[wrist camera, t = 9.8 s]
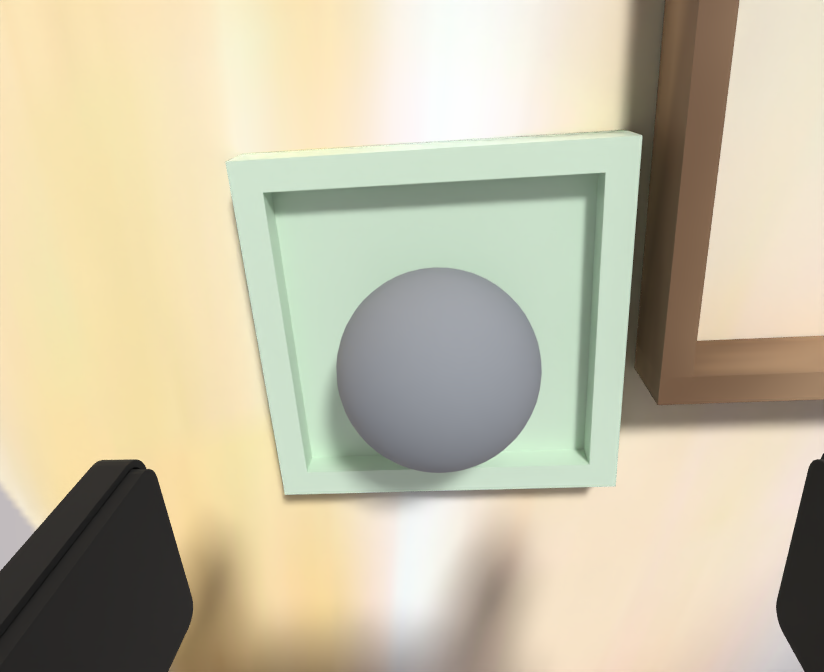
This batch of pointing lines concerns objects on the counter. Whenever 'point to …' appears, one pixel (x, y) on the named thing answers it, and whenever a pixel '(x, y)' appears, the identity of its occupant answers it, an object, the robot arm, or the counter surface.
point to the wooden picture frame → (701, 233)
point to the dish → (444, 248)
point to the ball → (438, 370)
